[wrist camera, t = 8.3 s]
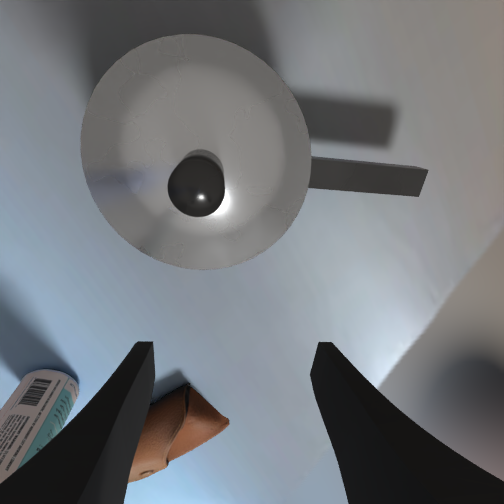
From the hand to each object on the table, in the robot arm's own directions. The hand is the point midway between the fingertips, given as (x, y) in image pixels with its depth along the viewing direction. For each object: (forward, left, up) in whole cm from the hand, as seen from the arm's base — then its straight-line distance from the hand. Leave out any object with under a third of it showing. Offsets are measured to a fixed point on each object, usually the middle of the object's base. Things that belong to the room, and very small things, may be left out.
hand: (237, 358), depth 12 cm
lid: (-2, +7, -6) cm, 10 cm away
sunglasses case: (-8, -22, -11) cm, 26 cm away
